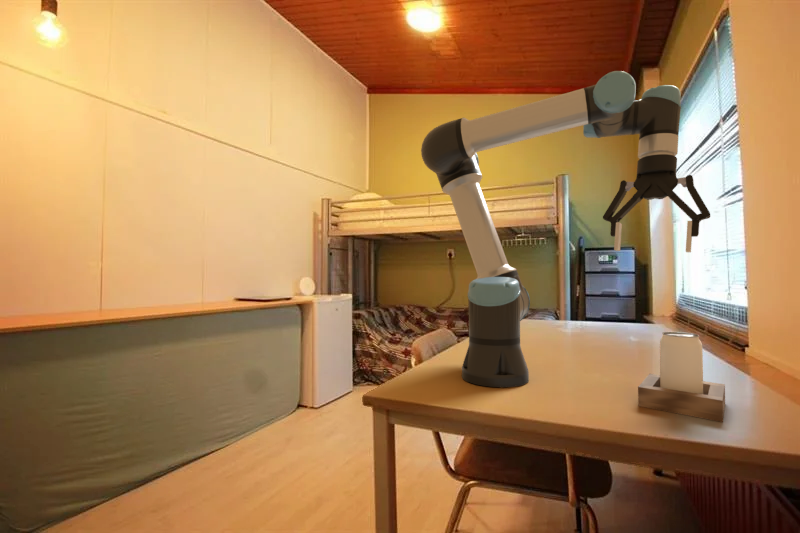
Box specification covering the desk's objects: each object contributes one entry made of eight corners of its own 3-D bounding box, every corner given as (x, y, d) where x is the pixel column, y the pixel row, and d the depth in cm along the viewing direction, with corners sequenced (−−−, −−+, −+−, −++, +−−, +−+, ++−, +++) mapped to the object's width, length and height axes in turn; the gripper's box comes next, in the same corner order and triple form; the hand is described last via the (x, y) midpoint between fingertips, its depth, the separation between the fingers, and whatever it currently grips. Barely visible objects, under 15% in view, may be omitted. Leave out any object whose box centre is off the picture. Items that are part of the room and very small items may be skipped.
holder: (638, 405, 72) (638, 386, 72) (649, 390, 81) (649, 373, 81) (722, 422, 64) (722, 400, 64) (725, 403, 73) (724, 384, 73)
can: (711, 405, 69) (710, 337, 69) (671, 403, 70) (669, 336, 70) (691, 394, 75) (690, 331, 75) (654, 392, 76) (653, 331, 76)
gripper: (728, 155, 83) (722, 254, 83) (600, 168, 99) (595, 251, 99) (729, 144, 77) (722, 250, 77) (593, 160, 93) (587, 248, 93)
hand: (650, 251), depth 88 cm, fingers open, 13 cm apart
